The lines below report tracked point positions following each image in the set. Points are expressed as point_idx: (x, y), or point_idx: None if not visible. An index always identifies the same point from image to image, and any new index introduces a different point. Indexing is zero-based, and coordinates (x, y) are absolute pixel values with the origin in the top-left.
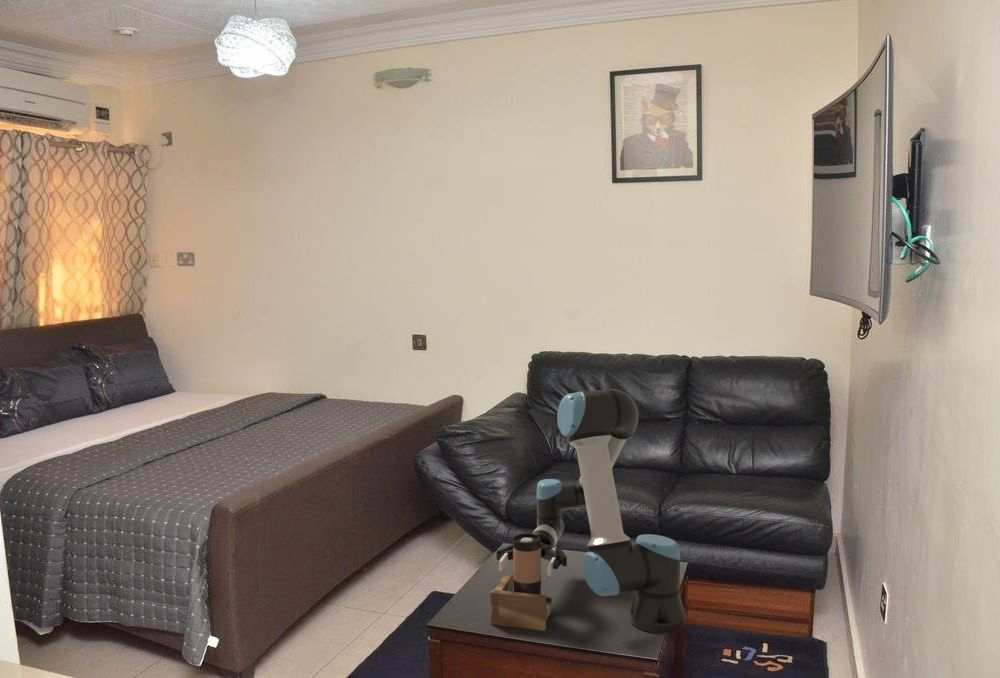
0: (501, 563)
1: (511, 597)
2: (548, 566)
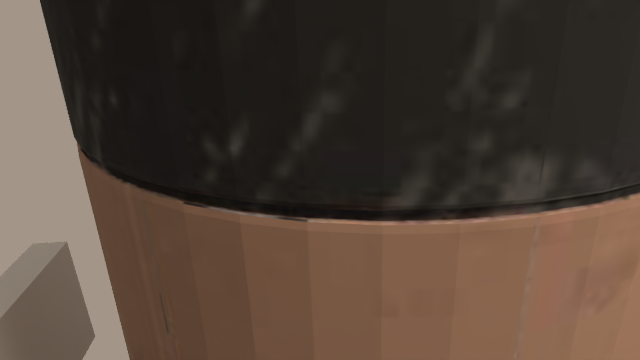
0: None
1: None
2: (56, 250)
